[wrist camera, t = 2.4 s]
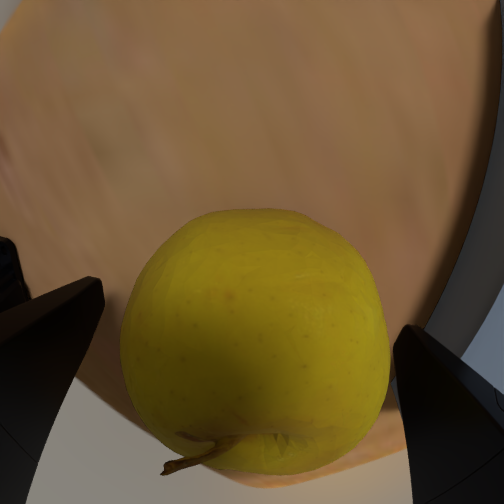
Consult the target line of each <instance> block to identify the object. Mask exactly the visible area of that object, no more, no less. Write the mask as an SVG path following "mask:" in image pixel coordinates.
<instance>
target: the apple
mask: <svg viewBox="0 0 504 504" xmlns="http://www.w3.org/2000/svg"><path fill="white" fill-rule="evenodd" d="M390 358H391V357H390V347H389V337H388V334H387V326H386V322H385V319H384V313H383V308H382V305H381V302H380V298H379V295H378V291H377V288H376V285H375V282H374V279H373V277H372V274H371V272H370V270H369V269H368V267H367V265H366V262H365V260H364V259H363V258H362V257H361V255H360V254H359V252H358V251H357V250H356V249H355V248H354V247H353V246H352V245H351V244H350V243H349V242H348V241H346V240H345V239H344V238H343V237H342V236H341V235H340V234H338V233H337V232H335V231H333V230H331V229H329V228H327V227H325V226H323V225H321V224H319V223H317V222H316V221H314V220H312V219H311V218H309V217H307V216H306V215H303V214H300V213H298V212H295V211H289V210H283V209H271V208H268V209H233V210H225V211H217V212H211V213H208V214H205V215H203V216H200V217H197V218H195V219H193V220H191V221H189V222H188V223H187V224H185V225H184V226H183V227H182V228H181V229H179V230H178V231H176V232H175V233H174V234H173V235H172V236H171V237H170V238H169V239H168V240H167V241H166V242H165V243H164V244H163V245H162V246H161V247H160V248H159V249H158V250H157V251H156V252H155V254H154V255H153V256H152V257H151V258H150V260H149V261H148V262H147V263H146V265H145V267H144V268H143V270H142V271H141V273H140V275H139V276H138V278H137V280H136V283H135V285H134V288H133V291H132V293H131V296H130V299H129V301H128V304H127V307H126V311H125V314H124V318H123V321H122V325H121V332H120V362H121V367H122V372H123V376H124V381H125V385H126V389H127V391H128V394H129V396H130V399H131V401H132V404H133V406H134V408H135V410H136V411H137V413H138V415H139V416H140V418H141V419H142V421H143V423H144V424H145V425H146V427H147V428H148V429H149V430H150V431H151V432H152V433H153V434H154V436H155V437H156V438H157V439H158V440H159V441H160V442H161V443H163V444H164V445H165V446H166V447H168V448H169V449H171V450H172V451H174V452H176V453H178V454H180V455H182V456H184V457H183V458H180V459H177V460H171V461H168V462H166V463H165V464H164V471H163V472H162V473H161V474H160V475H162V476H164V475H169V474H171V473H174V472H176V471H178V470H181V469H184V468H187V467H191V466H195V465H198V464H200V463H201V464H204V465H207V466H210V467H213V468H215V469H219V470H223V469H231V470H236V471H242V472H250V473H258V474H267V475H294V474H299V473H304V472H308V471H312V470H316V469H318V468H320V467H323V466H325V465H327V464H330V463H332V462H333V461H335V460H337V459H339V458H340V457H342V456H344V455H345V454H346V453H348V452H349V451H350V450H352V449H353V448H354V447H355V446H356V445H357V444H358V443H359V442H360V441H361V440H362V439H363V438H364V436H365V435H366V434H367V432H368V431H369V430H370V429H371V427H372V426H373V424H374V422H375V421H376V419H377V418H378V416H379V412H380V409H381V407H382V404H383V402H384V400H385V396H386V392H387V388H388V383H389V374H390Z"/></svg>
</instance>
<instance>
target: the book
mask: <svg viewBox="0 0 504 504" xmlns="http://www.w3.org/2000/svg"><path fill="white" fill-rule="evenodd" d="M500 4H501V17H502V77H501V89H500V99H499V108H498V115H497V122H496V128H495V134H494V140H493V145H492V150H491V155H490V159H489V163H488V168H487V172H486V176H485V180H484V183H483V187H482V191H481V194H480V198H479V201H478V204H477V207H476V211H475V214H474V217H473V220H472V223H471V226H470V228H469V231H468V234H467V237H466V239H465V242H464V245H463V247H462V250H461V252H460V255H459V257H458V260H457V262H456V265H455V267H454V269H453V272H452V274H451V276H450V278H449V281H448V283H447V285H446V287H445V289H444V291H443V293H442V296H441V298H440V300H439V302H438V304H437V306H436V308H435V310H434V312H433V313H432V315H431V317H430V319H429V321H428V323H427V325H426V327H425V328H424V331H426V332H427V333H428V334H430V335H431V336H432V337H433V338H435V339H436V340H437V341H439V342H440V343H441V344H442V345H444V346H445V347H446V348H447V349H449V350H450V351H451V352H452V353H454V354H455V355H456V356H457V357H459V358H460V359H461V360H462V361H464V362H465V363H466V364H467V365H469V366H470V367H471V368H472V369H474V370H475V371H476V372H477V373H478V374H480V375H481V376H482V377H483V378H484V379H486V380H487V381H488V382H489V383H490V384H492V385H493V386H494V387H495V388H496V389H498V390H499V391H500V392H501V393H502V394H504V0H500ZM391 386H392V389H393V392H394V395H395V398H396V401H397V404H398V408H399V411H400V414H401V409H400V403H399V398H398V392H397V383H396V376H395V378H394V379H393V381H392V382H391ZM401 417H402V414H401ZM402 421H403V420H402Z"/></svg>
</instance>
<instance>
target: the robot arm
mask: <svg viewBox="0 0 504 504" xmlns="http://www.w3.org/2000/svg"><path fill="white" fill-rule="evenodd" d="M104 307H105V299H104V292H103V285H102V281H101V280H100V279H99V278H96V277H91V276H87V277H84V278H82V279H80V280H77V281H75V282H72V283H70V284H67V285H65V286H63V287H60V288H58V289H55V290H53V291H51V292H48V293H46V294H43V295H41V296H39V297H36V298H34V299H32V300H29V301H28V298H27V295H26V292H25V288H24V285H23V281H22V277H21V273H20V269H19V265H18V261H17V257H16V252H15V248H14V245H13V243H12V241H11V240H10V239H8V238H5V237H1V236H0V504H25V503H26V500H27V496H28V493H29V489H30V487H31V483H32V481H33V477H34V474H35V472H36V469H37V466H38V462H39V460H40V457H41V454H42V451H43V449H44V446H45V444H46V441H47V438H48V436H49V433H50V431H51V428H52V426H53V424H54V421H55V418H56V416H57V414H58V412H59V409H60V407H61V405H62V403H63V400H64V398H65V396H66V394H67V391H68V389H69V387H70V385H71V383H72V381H73V379H74V377H75V375H76V373H77V370H78V368H79V366H80V364H81V362H82V360H83V358H84V356H85V354H86V352H87V350H88V348H89V345H90V343H91V340H92V338H93V335H94V333H95V330H96V328H97V325H98V323H99V320H100V318H101V315H102V313H103V310H104ZM393 357H394V365H395V374H396V383H397V392H398V398H399V403H400V409H401V414H402V420H403V425H404V431H405V438H406V444H407V451H408V459H409V466H410V476H411V486H412V497H413V504H504V394H502V393H501V392H500V391H499V390H498V389H496V388H495V387H494V386H493V385H492V384H490V383H489V382H488V381H487V380H486V379H484V378H483V377H482V376H481V375H480V374H478V373H477V372H476V371H475V370H474V369H472V368H471V367H470V366H469V365H467V364H466V363H465V362H464V361H462V360H461V359H460V358H459V357H457V356H456V355H455V354H454V353H452V352H451V351H450V350H449V349H447V348H446V347H445V346H444V345H442V344H441V343H440V342H439V341H437V340H436V339H435V338H433V337H432V336H431V335H430V334H428V333H427V332H426V331H424V330H423V329H422V328H421V327H419V326H418V325H411V324H407V325H405V326H404V327H403V328H402V330H401V332H400V334H399V336H398V338H397V339H396V341H395V343H394V346H393Z"/></svg>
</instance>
